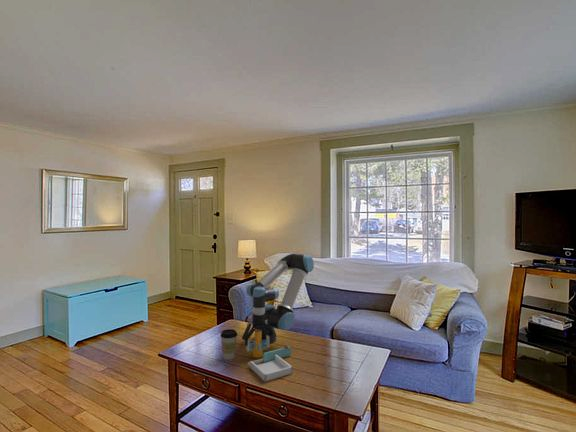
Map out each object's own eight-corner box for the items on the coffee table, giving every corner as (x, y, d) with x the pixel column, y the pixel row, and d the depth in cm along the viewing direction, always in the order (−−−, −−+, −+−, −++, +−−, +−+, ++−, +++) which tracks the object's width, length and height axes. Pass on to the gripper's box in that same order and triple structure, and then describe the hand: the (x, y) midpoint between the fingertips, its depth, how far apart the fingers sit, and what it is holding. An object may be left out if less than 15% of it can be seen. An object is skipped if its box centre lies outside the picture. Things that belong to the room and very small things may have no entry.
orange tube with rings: (270, 353, 188) (270, 329, 188) (263, 361, 178) (264, 335, 178) (252, 350, 192) (252, 326, 192) (244, 357, 182) (245, 332, 182)
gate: (288, 354, 187) (289, 344, 187) (290, 355, 185) (290, 345, 185) (262, 361, 177) (263, 350, 177) (264, 362, 176) (264, 352, 176)
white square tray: (273, 358, 182) (273, 352, 182) (292, 373, 164) (292, 366, 164) (247, 365, 173) (247, 358, 173) (264, 381, 155) (264, 375, 155)
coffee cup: (233, 361, 176) (233, 335, 177) (217, 359, 178) (217, 334, 179) (239, 354, 186) (239, 329, 186) (224, 352, 188) (224, 328, 188)
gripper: (273, 309, 195) (272, 342, 195) (237, 314, 182) (236, 350, 181) (279, 312, 189) (278, 346, 188) (242, 318, 175) (241, 355, 175)
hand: (257, 348), depth 185 cm, fingers open, 13 cm apart
